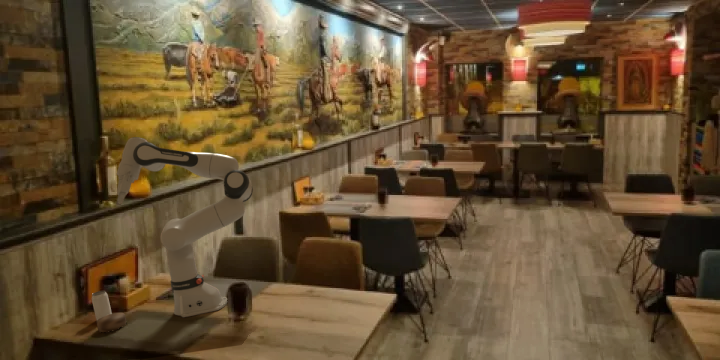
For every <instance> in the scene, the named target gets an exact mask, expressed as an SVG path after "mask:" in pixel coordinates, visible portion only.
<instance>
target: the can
mask: <svg viewBox="0 0 720 360" xmlns="http://www.w3.org/2000/svg"><path fill="white" fill-rule="evenodd" d="M91 302H92V306H93V312H94V314H95V320H96V321H97V320H98V319H100V318H102V317H104V316H106V315H109V314H113V313H112V309H111V305H110V304H111V303H110V300H109V295H108V293H107V292H106V290H99V291H95V292H92V294H91Z"/></svg>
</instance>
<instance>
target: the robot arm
mask: <svg viewBox="0 0 720 360" xmlns="http://www.w3.org/2000/svg"><path fill="white" fill-rule="evenodd" d="M121 157H122V158H121V161H120V162H119V165H118V168H117V171H116V175H117V176H118V177H117V178H118V183H117V184H118V185H117V190H116V195H117V201H116V205H117V206H122V205H123V203H124V200H125V198H126V196H127V194H129V192H130V190H131V189H130V188H131V187H132V186H131V185H132V184H134V183H135V181H138V180H139V177H140V173H141V170H142V169H143V168H144V169H146V170H148V171H151V172H159V171H161V170H163V169H164V168H165V167H166V165H170V166H177V167H181V168H183V169H185V170H187V171H189V172H191V173H192V174H194V175H196V176H199V177H201V178H207V179H216V180H222V181H223V189H224V197H223V198H222V199H221V200H219V201H216V202H214V203H211V204H208V205H207V206H204V207H202V208H199V209H197V210H196V211H193V212H191V214H188V215H186V216H185V217H183V218H177V217H176V218H172V219H169V220H168V221H167V222H166V223H165V225H164V226H163V229H162V231H161V233H160V242H161V244H162V246H163V247H164V248H165V250H166V259H167V266H168V271H169V275H170V287H171V291H172V294H173V299H174V300H173V301H174V307H173V308H174V309H173V314H174V315H175V316H179V317H181V318H188V317H191V316H196V315H202V314H206V313H211V312H216V311H220V310H221V309H223V308H224V307H225V306H226V305H227V303H228V301H227V300H228V298H227V297H226V296H222V295H221V292H220V289H218V288H217V287H216V286H213V285H211V284H209V283H207V282H205V280H204V278H205V276H204V275H205V274H202V275H201V274H199V272H198V269H197V265H196V259H195V253H194V245H193V243H195V242H196V241H198V240H200V239H202V238H203V237H205V236H207V235H210V234H211V233H214V232H216V231H219V230H221V229H222V228H225V227H227V226H229V225H231V224H233V223H235V222H237V221H238V220H239V219H241V218H243V216H244V214H245V210H246V209H245V205H244V203H245V202H247V201H248V200H249V199H250V198H251V197H252V195H253V191H254V189H253V186H252V184H253V183H252V182H251V179H250V178H249V176H248V175H247V173H245V171H243V170H240V169H239V167H240V166H239V162H238V160H237V158H236V157H234V156H230V155H226V154H224V153H223V154H222V153H214V152H204V151H203V152H196V151H182V150H178V149H177V150H176V149H175V150H174V149H169V148H162V147H159V146H156V145H155V144H154V143H152V142H149V141H148V140H147V139H146V138H143V137H137V136H136V137H135V136H134V137H131V138H128V140H127V141H126V143H125V145H124V148H123V151H122V155H121Z"/></svg>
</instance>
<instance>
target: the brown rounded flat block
mask: <svg viewBox="0 0 720 360" xmlns="http://www.w3.org/2000/svg"><path fill="white" fill-rule="evenodd" d="M126 322H127V318H126V314H125V312H113V313H112V314H109V315H106V316H104V317H102V318H100V319H98V320H97V319H96V326H97V329H98V333H101V332H106V333H109V332H108V331H112V330H115V331H117V330H116V329H118V328H120V327H122V326H124V325H125V324H126ZM126 325H127V324H126ZM126 325H125V326H126ZM125 326H124V327H125ZM122 328H123V327H122ZM120 329H121V328H120ZM118 330H119V329H118ZM112 332H113V331H112Z"/></svg>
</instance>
